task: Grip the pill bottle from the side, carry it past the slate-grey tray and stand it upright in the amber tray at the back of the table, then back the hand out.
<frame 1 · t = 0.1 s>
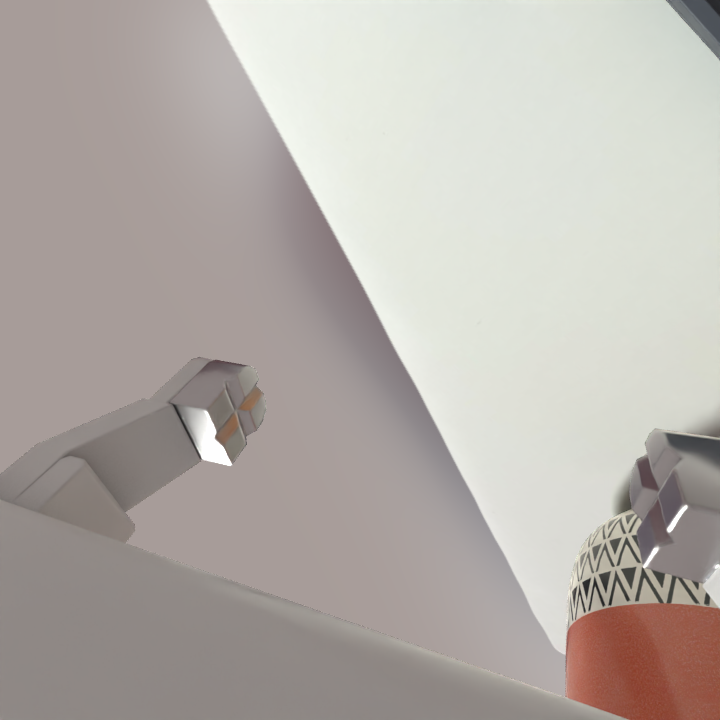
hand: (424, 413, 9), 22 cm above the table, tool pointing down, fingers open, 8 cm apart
planter: (670, 525, 39), on the table
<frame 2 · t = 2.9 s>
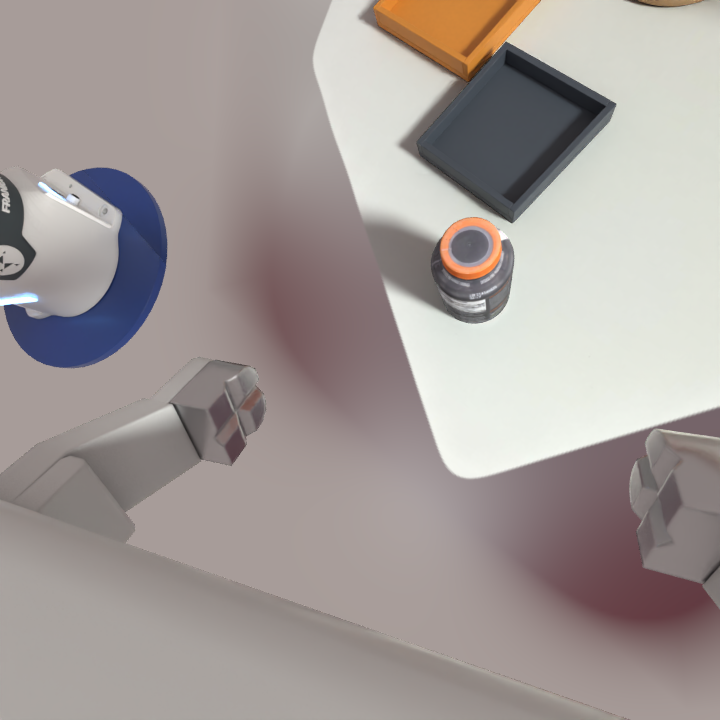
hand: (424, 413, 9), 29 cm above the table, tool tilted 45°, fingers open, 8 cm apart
amber tray: (465, 1, 42), on the table
pill bottle: (475, 294, 38), on the table
slate tray: (508, 139, 39), on the table
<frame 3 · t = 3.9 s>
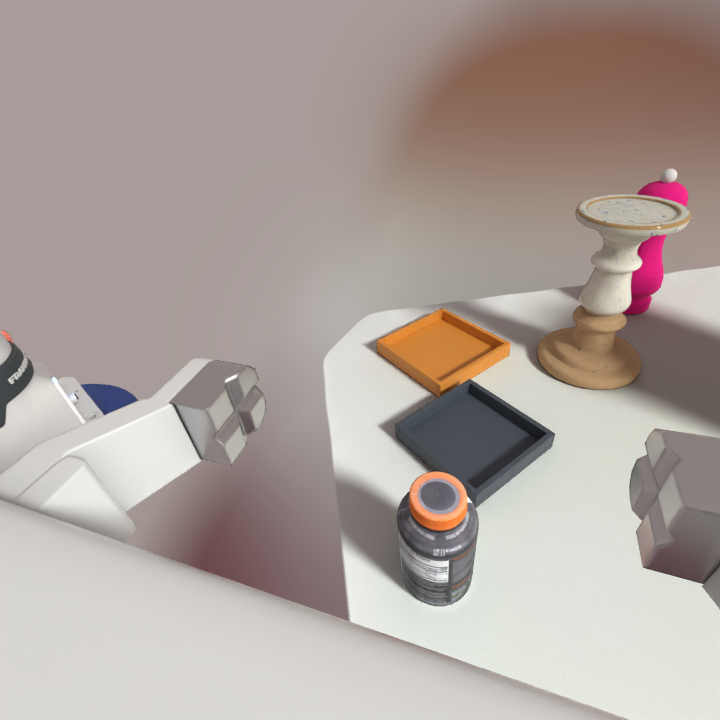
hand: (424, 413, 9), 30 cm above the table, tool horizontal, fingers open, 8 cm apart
amber tray: (441, 353, 59), on the table
pill bottle: (435, 572, 36), on the table
candle holder: (585, 361, 55), on the table
slate tray: (471, 441, 46), on the table
pepper mill: (624, 305, 65), on the table
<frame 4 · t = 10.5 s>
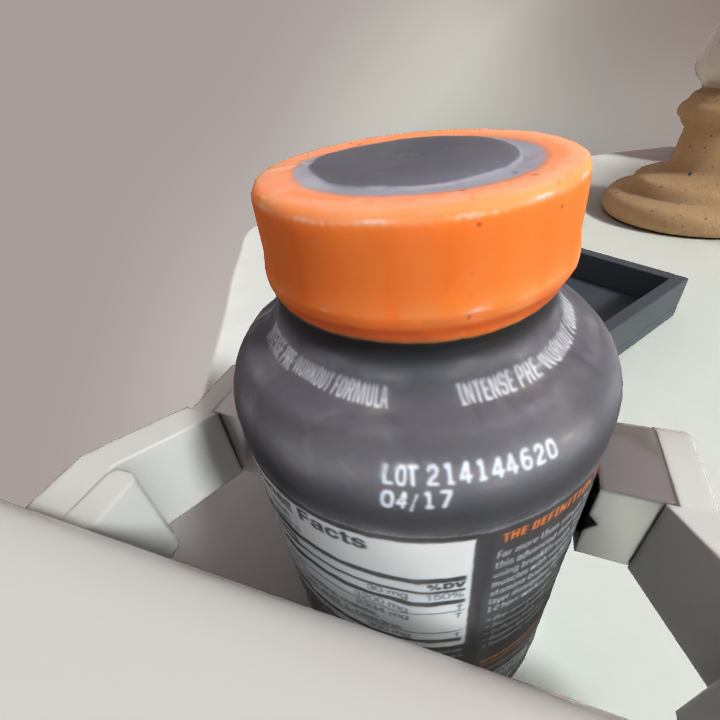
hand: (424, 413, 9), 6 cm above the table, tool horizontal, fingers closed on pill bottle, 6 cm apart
pill bottle: (420, 589, 12), on the table, touching gripper
candle holder: (689, 212, 32), on the table
slate tray: (499, 314, 23), on the table
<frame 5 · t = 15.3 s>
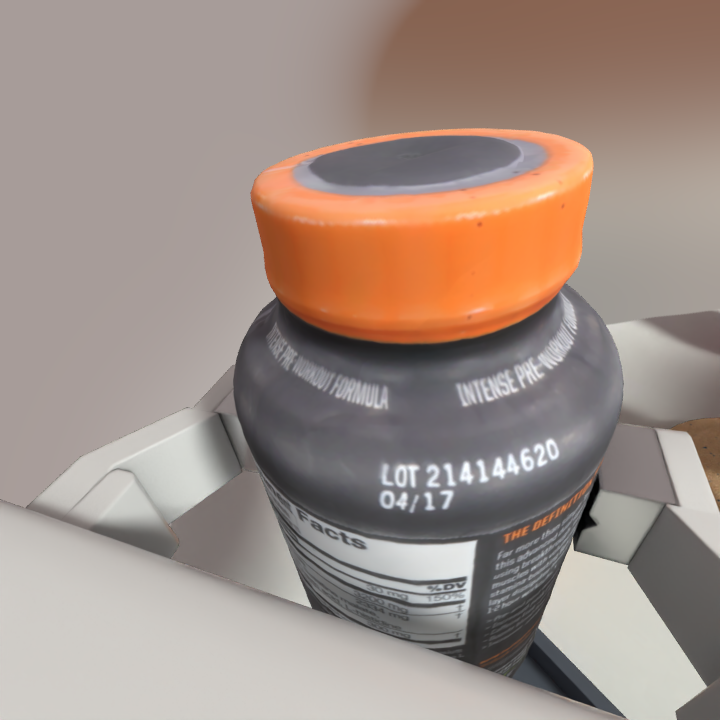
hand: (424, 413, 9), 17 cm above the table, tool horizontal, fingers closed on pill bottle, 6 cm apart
pill bottle: (420, 589, 12), point 11 cm above the table, touching gripper
when the fingers open (7 cm above the table, at t = 20.2 s): pill bottle stays where it is, resting on amber tray.
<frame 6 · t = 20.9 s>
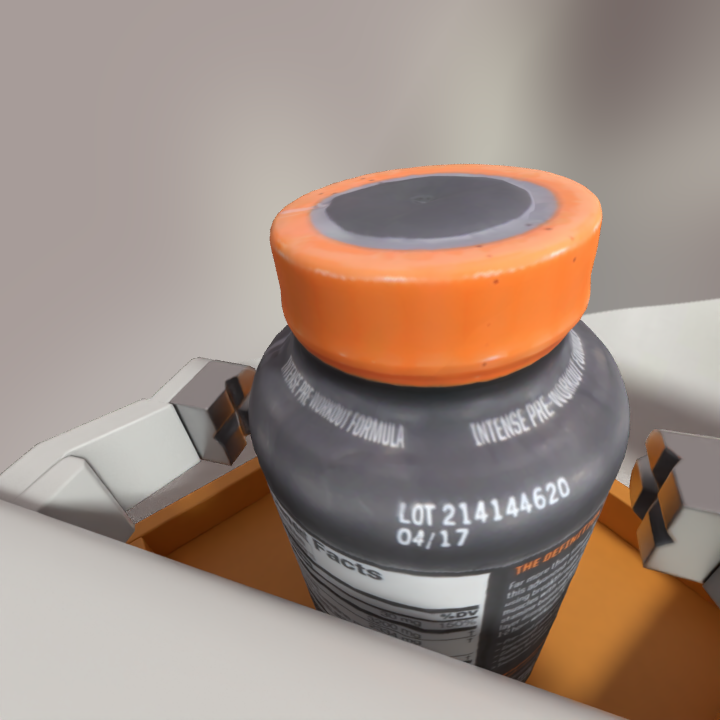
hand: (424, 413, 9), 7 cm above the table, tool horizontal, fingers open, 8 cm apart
amber tray: (420, 603, 12), on the table
pill bottle: (426, 602, 12), resting on amber tray
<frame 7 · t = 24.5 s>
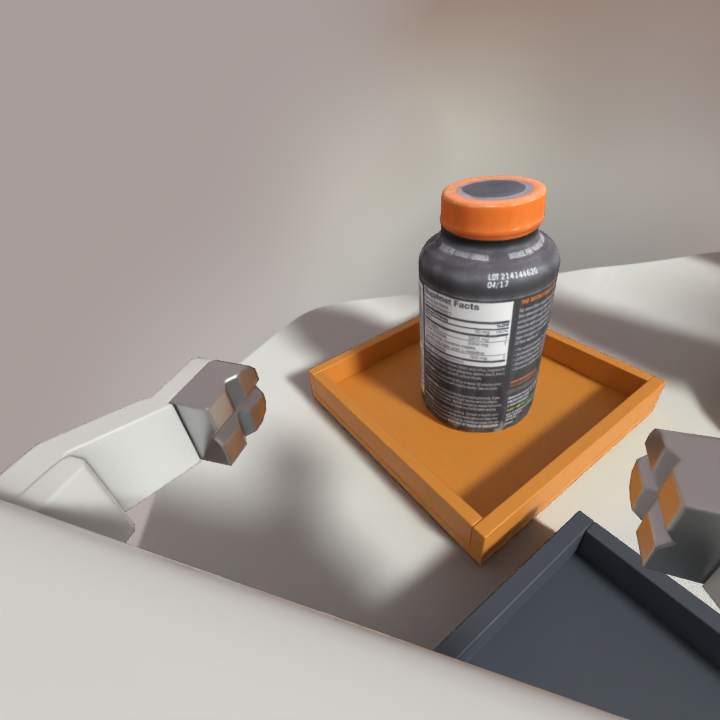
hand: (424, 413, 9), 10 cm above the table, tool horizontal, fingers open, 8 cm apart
amber tray: (470, 403, 23), on the table
pill bottle: (474, 399, 23), resting on amber tray
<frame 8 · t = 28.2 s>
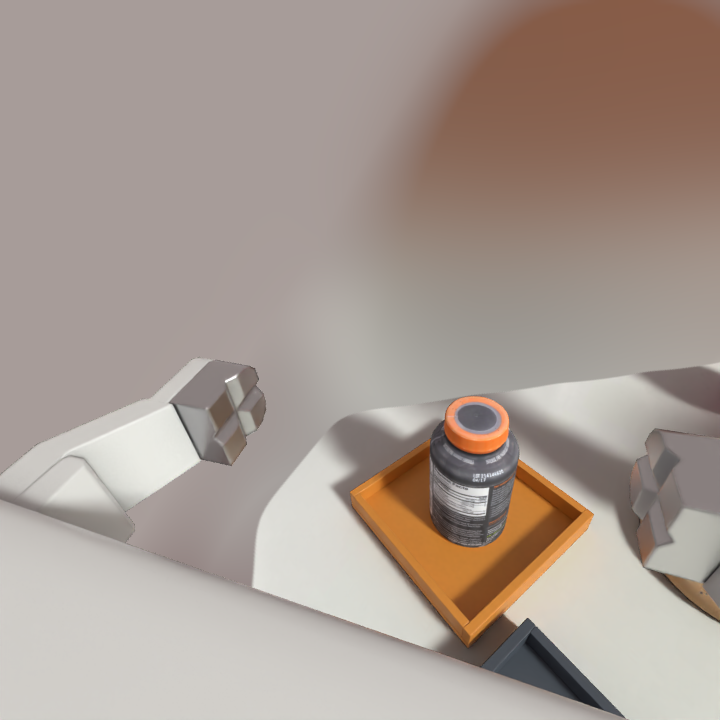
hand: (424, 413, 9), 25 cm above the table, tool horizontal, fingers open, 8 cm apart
amber tray: (463, 517, 34), on the table
pill bottle: (466, 515, 33), resting on amber tray
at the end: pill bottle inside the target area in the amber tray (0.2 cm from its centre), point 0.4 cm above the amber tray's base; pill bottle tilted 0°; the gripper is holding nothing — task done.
